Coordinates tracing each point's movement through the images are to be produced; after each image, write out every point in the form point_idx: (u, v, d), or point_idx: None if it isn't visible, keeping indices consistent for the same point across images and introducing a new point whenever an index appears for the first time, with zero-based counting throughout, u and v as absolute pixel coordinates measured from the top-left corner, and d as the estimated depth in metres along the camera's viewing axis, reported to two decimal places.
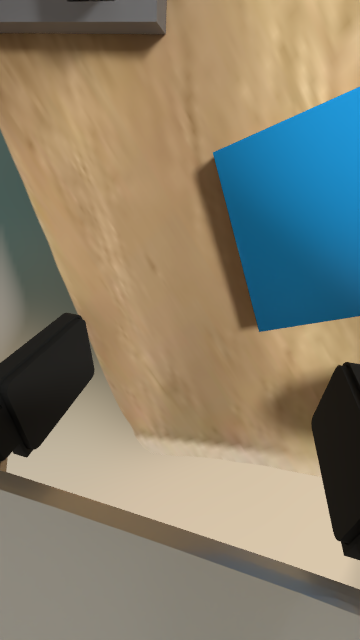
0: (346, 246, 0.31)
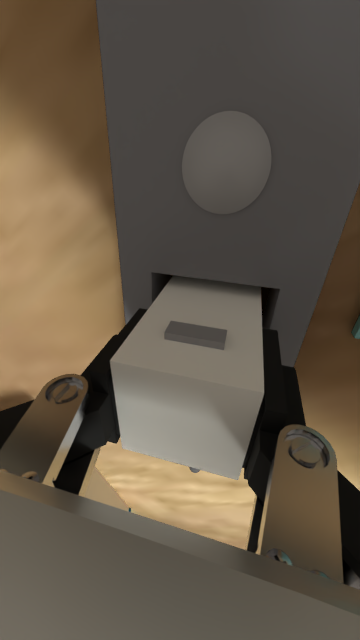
0: None
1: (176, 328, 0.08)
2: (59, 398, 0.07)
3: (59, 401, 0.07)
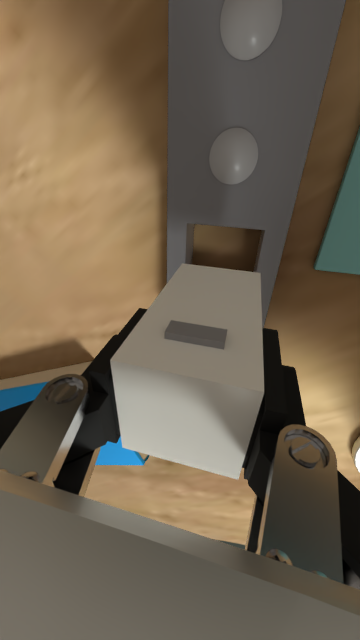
0: None
1: (176, 328, 0.08)
2: (59, 398, 0.07)
3: (59, 401, 0.07)
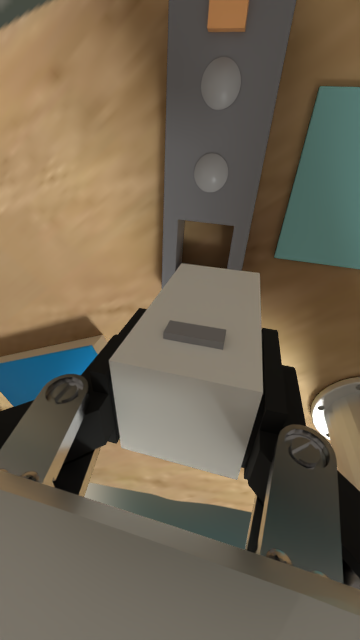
0: None
1: (175, 328, 0.08)
2: (59, 398, 0.07)
3: (59, 401, 0.07)
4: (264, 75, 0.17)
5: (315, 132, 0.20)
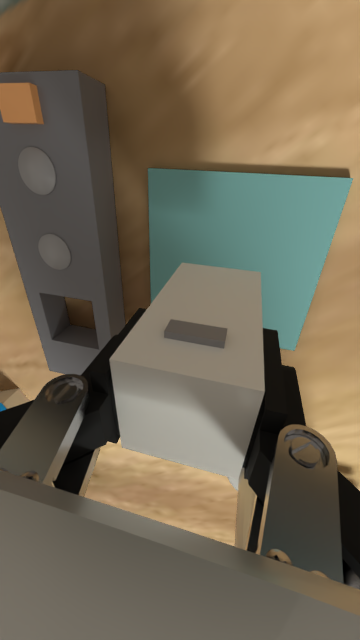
0: None
1: (175, 326, 0.08)
2: (59, 398, 0.07)
3: (59, 401, 0.07)
4: (74, 164, 0.17)
5: (155, 210, 0.19)
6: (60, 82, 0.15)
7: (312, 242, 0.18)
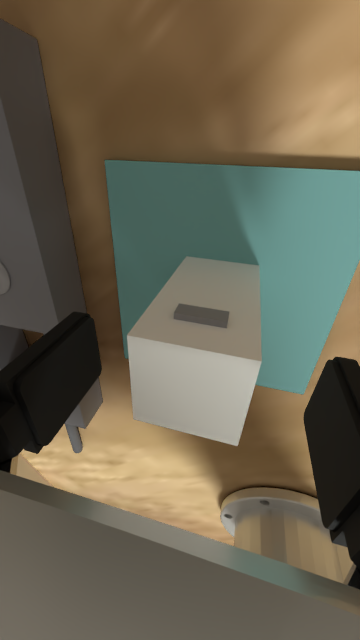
0: None
1: (184, 309, 0.09)
2: None
3: None
4: None
5: (119, 218, 0.14)
6: None
7: (331, 262, 0.13)
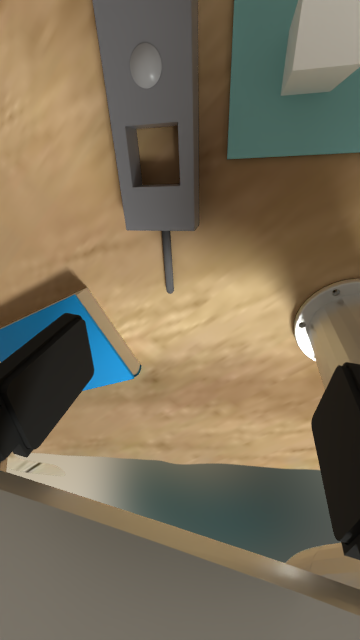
0: None
1: None
2: None
3: None
4: None
5: (240, 7, 0.21)
6: None
7: None
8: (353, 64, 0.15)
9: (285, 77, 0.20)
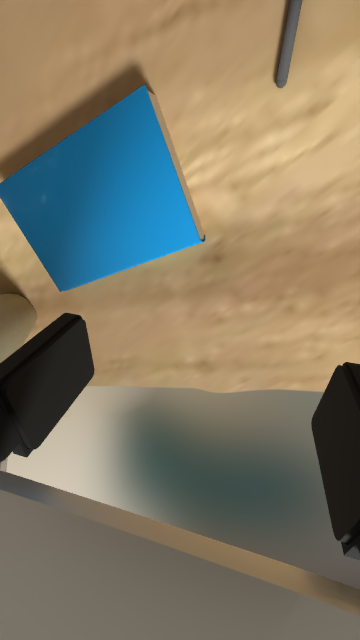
0: (93, 248, 0.36)
1: None
2: None
3: None
4: None
5: None
6: None
7: None
8: None
9: None
